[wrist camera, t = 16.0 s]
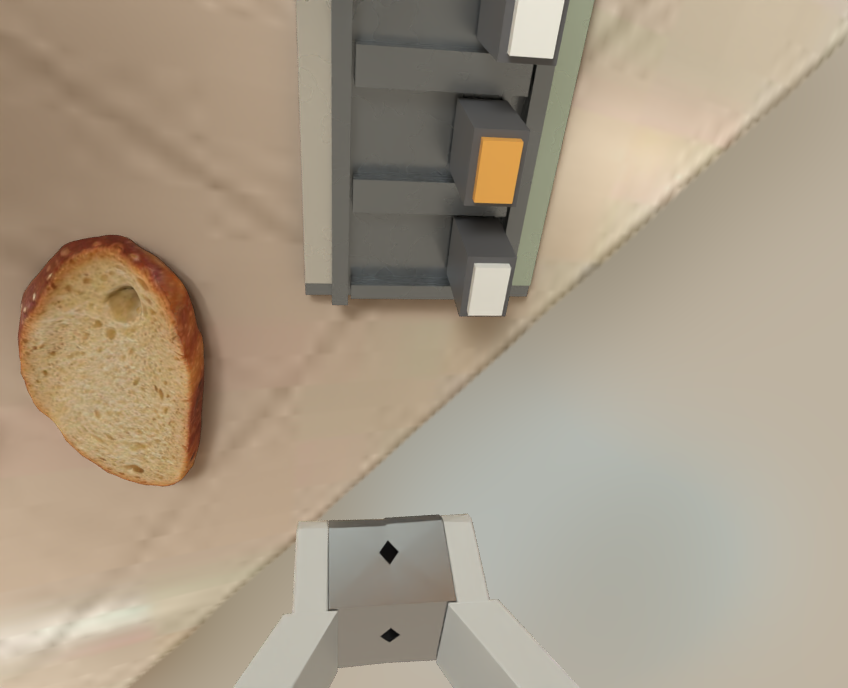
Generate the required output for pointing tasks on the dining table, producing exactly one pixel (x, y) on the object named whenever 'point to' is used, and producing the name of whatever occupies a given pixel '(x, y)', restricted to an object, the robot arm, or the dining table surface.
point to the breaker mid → (488, 152)
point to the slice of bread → (115, 358)
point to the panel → (412, 140)
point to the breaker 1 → (480, 266)
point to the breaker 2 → (522, 30)
